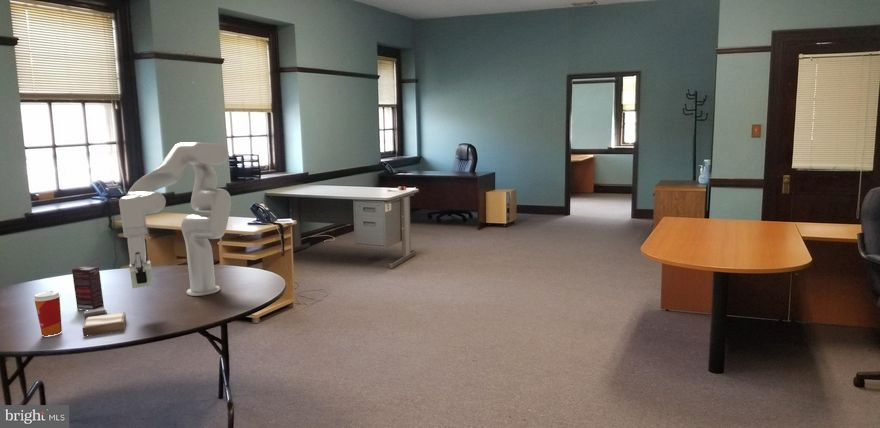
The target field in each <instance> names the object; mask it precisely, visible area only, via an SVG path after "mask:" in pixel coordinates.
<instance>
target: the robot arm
mask: <svg viewBox="0 0 880 428" xmlns="http://www.w3.org/2000/svg"><path fill="white" fill-rule="evenodd" d="M229 153H230V152H229V150H228V147H227V146H226V145H224V144H223V143H220V142H217V143H215V142H214V143H213V142H202V141H201V142H199V141H196V142H195V141H190V142H187V141H186V142H185V141H184V142H178V143H176V144H174V145H173V147H172V148H170V151H168V153H167V155H166V156H165V157H164V159H163V160H162V161H161V163H159V165H158V166H157V167H156V168H155V169H154V170H151V171H149V172H148V173H147V174H145V175H142V176H141V177H140V178H139V179H138V180H136V181H135V182H134V183H133V185H132V186H131V187H130V188H129V190H128V191H127V193H126V194H125V196H122V197H120V199H119V200H118V205H119V212H120V219H121V225H122V231H123V233H122V234H123V237H124V238H127V247H128V256H129V265H130V264H131V265H133V264H134V263H135V267H136V279H137V284H141V283H147V277H146V271H145V268H144V263H145V262H146V261H147V249H146V247H147V246H146V240H145V236H146V235H149V234H148V227H147V219H146V215H147V214H156V213H159V212H161V211H163V210H164V209H165V207H166V203H167V201H166V197H165V196H164V195H163V194H162V193H160V192H157V191H158V190H160V189H163V188H166V187H168V186H171V185H175V184H176V183H178V181H179V180H180V179H181V177H183V174H184V173H185V172H186V170H187V169H188V168H189V166H192V168H193V171H194V174H195V175H194V176H195V179H194V184H193V189H192V193H191V197H190V198H191V199H190V207H191V208H192V210H194V211H195V212H199V213H194V214H188V215H187V216H185V217H184V218H183V219H182V221H181V224H180V227H181V232H182V235H183V239H184V243H185V249H186V258H187V270H188V276H189V288H188V289H187V290H186V294H187V295H188V296H192V297H194V296H195V297H199V296H202V297H203V296H207V295H212V294H215V293H218V292H219V291H220V290H221V287H220V286H219V285H216V277H215V267H214V257H213V255H214V254H213V248H212V244H211V242H210V241H209V239H210V240H215V239H216V240H217V239H221V238H222V237H224V235H225V233H226V230H227V227H228V222H229V218H230V213H231V207H232V198H231V194H230V192H229V191H227V189H224V188H217V185H218V180H219V179H218V174H217V173H216V171H215V169H214V167H213V166H218V165H220V166H221V165H224V164H225V163H226V162H227V161H228V159H229ZM200 212H201V214H200ZM203 213H210V214H203ZM136 262H137V264H136ZM141 262H142V263H141ZM141 265H142V266H141Z"/></svg>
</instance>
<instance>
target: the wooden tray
mask: <svg viewBox="0 0 880 428" xmlns="http://www.w3.org/2000/svg"><path fill="white" fill-rule="evenodd" d="M126 315H127V314H126V312H125V311H124V312H123V311H122V312H116V313H107V315H100V316H93V317H87V318H86V320H84V322H83V325H82V327H81V328H82V335H83V336H86V337H91V336H90V335H92V336H98V334H99V335H104V334H111V332H112V333H118V331H119V332H123V331H125V329H126V328H125V327H126V322H127V317H126ZM87 335H88V336H87Z"/></svg>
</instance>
